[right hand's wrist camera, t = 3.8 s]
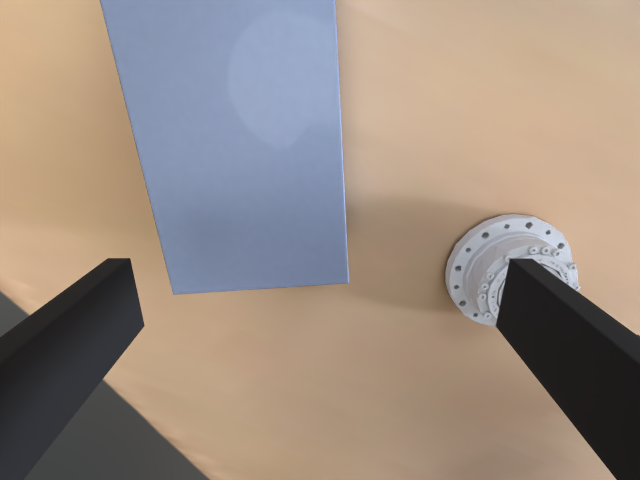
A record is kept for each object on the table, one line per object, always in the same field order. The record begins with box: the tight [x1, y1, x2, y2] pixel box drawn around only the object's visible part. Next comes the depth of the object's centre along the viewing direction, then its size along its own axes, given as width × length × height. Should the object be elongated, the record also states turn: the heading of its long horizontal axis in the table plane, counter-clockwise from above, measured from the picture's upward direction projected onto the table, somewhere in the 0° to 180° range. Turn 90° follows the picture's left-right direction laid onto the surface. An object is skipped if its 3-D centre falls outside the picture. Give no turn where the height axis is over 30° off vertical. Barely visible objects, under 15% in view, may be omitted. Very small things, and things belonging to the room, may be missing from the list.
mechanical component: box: [445, 214, 580, 327], centre depth 28 cm, size 10×4×10 cm
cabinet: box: [100, 0, 349, 295], centre depth 22 cm, size 20×11×9 cm, turn 4°
